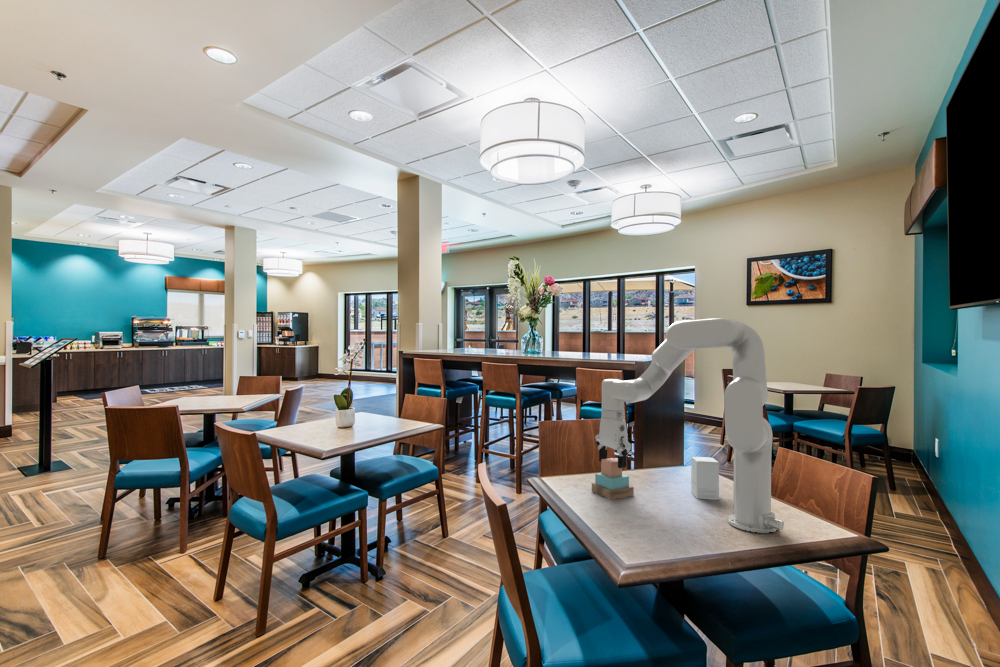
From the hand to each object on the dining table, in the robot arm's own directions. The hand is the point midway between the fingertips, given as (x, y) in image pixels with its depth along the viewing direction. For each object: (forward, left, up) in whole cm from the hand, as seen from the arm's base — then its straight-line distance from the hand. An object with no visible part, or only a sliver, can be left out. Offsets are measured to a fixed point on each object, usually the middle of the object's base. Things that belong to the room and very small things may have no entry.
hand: (612, 464), depth 162 cm
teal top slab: (0, 0, -7) cm, 7 cm away
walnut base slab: (0, 0, -11) cm, 11 cm away
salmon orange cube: (0, 0, -4) cm, 4 cm away
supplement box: (-16, -27, -10) cm, 33 cm away
